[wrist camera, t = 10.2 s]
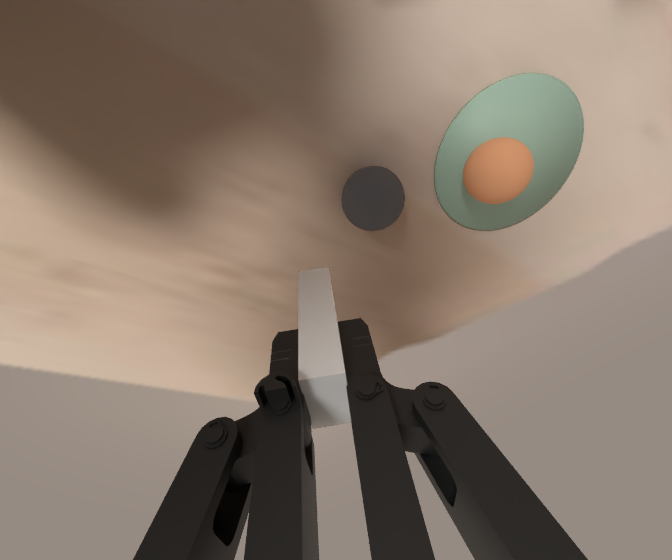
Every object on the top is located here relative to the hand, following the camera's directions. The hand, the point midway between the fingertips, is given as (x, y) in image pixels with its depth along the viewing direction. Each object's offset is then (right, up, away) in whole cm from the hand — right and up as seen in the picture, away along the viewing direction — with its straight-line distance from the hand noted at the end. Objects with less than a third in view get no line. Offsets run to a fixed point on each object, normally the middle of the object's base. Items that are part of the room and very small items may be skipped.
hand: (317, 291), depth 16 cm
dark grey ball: (+4, +8, +12) cm, 15 cm away
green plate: (+17, +12, +14) cm, 25 cm away
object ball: (+15, +10, +11) cm, 21 cm away
